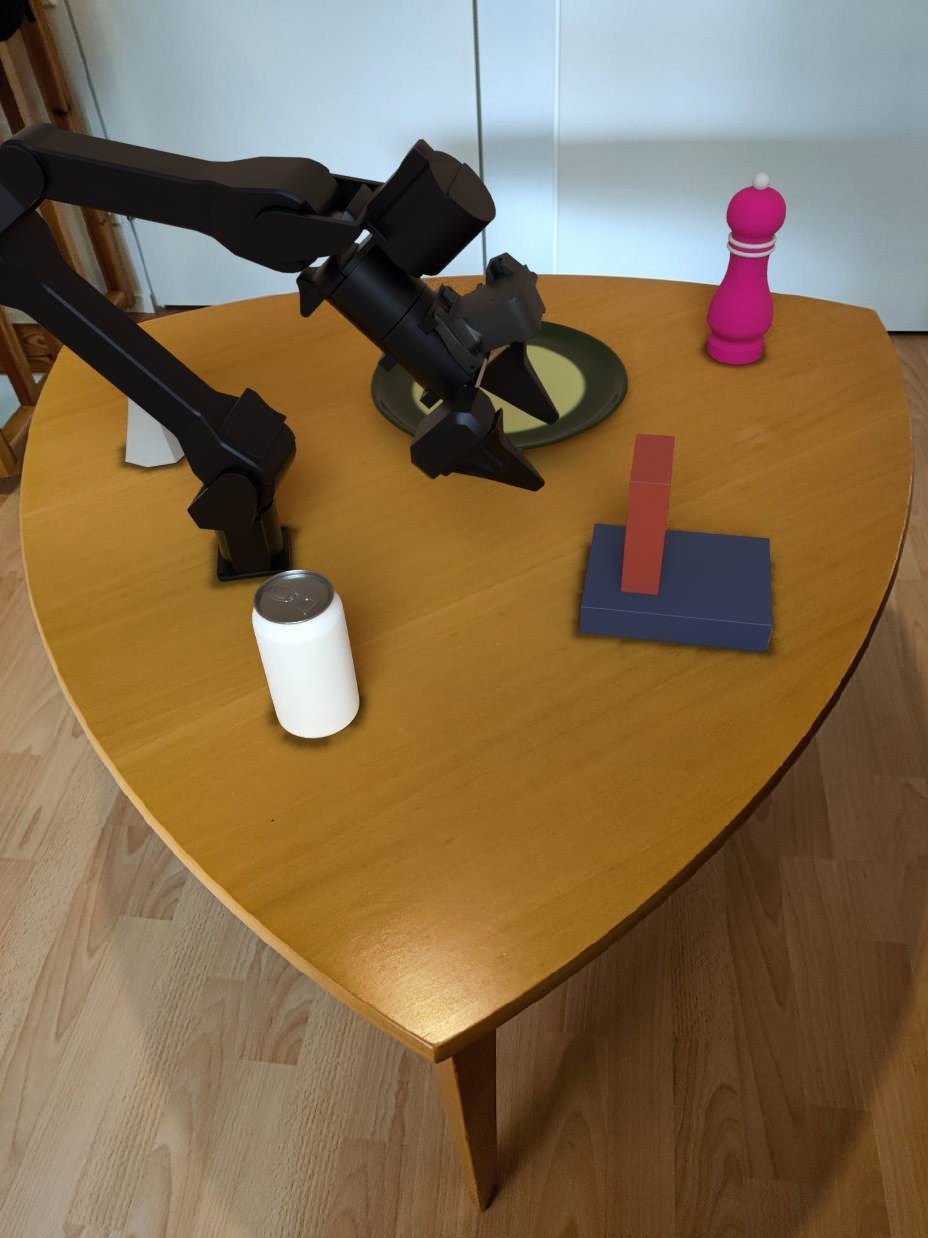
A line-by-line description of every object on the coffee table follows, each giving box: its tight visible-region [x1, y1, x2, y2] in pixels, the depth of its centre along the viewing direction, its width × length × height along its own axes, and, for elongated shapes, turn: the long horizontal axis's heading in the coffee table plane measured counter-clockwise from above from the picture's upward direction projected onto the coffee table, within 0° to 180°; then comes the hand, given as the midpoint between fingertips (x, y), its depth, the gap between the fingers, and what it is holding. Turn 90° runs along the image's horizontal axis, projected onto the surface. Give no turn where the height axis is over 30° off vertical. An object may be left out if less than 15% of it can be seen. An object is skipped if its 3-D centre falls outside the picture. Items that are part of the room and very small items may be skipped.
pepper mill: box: [706, 171, 787, 366], centre depth 108 cm, size 7×7×20 cm
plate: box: [370, 320, 629, 452], centre depth 109 cm, size 28×28×2 cm
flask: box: [125, 397, 185, 468], centre depth 102 cm, size 7×7×10 cm
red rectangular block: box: [621, 433, 676, 595], centre depth 80 cm, size 3×6×11 cm, turn 169°
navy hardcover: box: [579, 523, 773, 653], centre depth 84 cm, size 15×11×3 cm
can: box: [251, 568, 360, 739], centre depth 73 cm, size 6×6×12 cm
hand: (548, 452), depth 78 cm, fingers open, 9 cm apart
